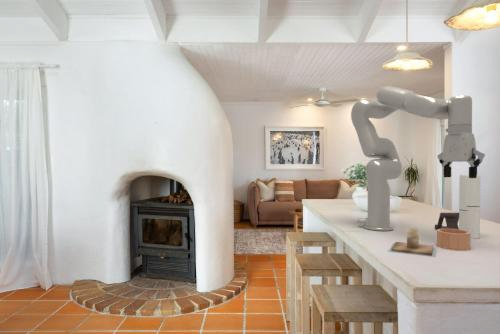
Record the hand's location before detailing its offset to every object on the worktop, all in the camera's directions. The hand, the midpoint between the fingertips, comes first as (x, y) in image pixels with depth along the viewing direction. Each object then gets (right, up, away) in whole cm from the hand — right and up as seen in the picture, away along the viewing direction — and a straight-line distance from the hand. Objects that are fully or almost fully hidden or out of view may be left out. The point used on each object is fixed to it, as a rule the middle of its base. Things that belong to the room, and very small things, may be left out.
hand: (459, 177), depth 127 cm
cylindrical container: (+13, -25, +15) cm, 31 cm away
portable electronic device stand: (+12, -25, +27) cm, 38 cm away
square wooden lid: (-21, -24, -9) cm, 33 cm away
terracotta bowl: (-5, -25, -5) cm, 26 cm away
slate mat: (-21, -25, -9) cm, 33 cm away
